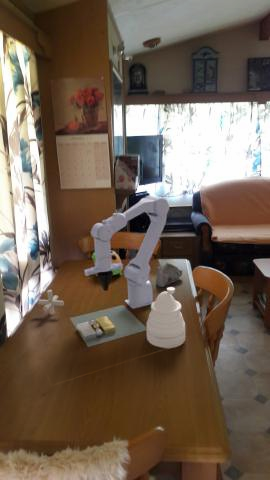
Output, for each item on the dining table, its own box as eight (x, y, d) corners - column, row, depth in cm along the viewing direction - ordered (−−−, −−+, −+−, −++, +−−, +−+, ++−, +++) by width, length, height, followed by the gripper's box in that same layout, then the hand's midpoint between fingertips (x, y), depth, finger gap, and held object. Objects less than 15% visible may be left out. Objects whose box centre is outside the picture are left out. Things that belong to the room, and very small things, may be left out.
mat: (123, 305, 144) (122, 304, 144) (148, 330, 125) (148, 329, 125) (69, 318, 135) (69, 318, 135) (88, 347, 116) (88, 346, 116)
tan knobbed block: (115, 332, 124) (115, 326, 123) (97, 337, 121) (97, 330, 121) (106, 321, 132) (106, 315, 131) (89, 325, 129) (89, 319, 128)
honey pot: (188, 330, 124) (188, 282, 119) (180, 351, 112) (180, 298, 107) (152, 325, 128) (151, 278, 123) (141, 345, 116) (139, 294, 111)
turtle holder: (104, 266, 189) (102, 244, 186) (127, 274, 177) (126, 251, 173) (85, 272, 181) (83, 250, 178) (108, 281, 168) (106, 258, 165)
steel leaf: (103, 336, 122) (103, 330, 121) (85, 341, 119) (84, 335, 118) (94, 324, 129) (94, 318, 129) (77, 329, 127) (76, 323, 126)
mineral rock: (181, 278, 169) (181, 258, 166) (186, 287, 159) (185, 266, 156) (154, 279, 169) (154, 259, 166) (157, 288, 159) (156, 267, 156)
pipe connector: (59, 321, 133) (56, 297, 131) (34, 319, 135) (31, 295, 133) (69, 309, 143) (66, 286, 140) (45, 307, 145) (43, 285, 142)
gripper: (117, 249, 138) (118, 282, 142) (80, 256, 132) (83, 290, 136) (124, 254, 132) (126, 288, 136) (86, 261, 126) (89, 296, 130)
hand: (105, 289), depth 135 cm, fingers closed
